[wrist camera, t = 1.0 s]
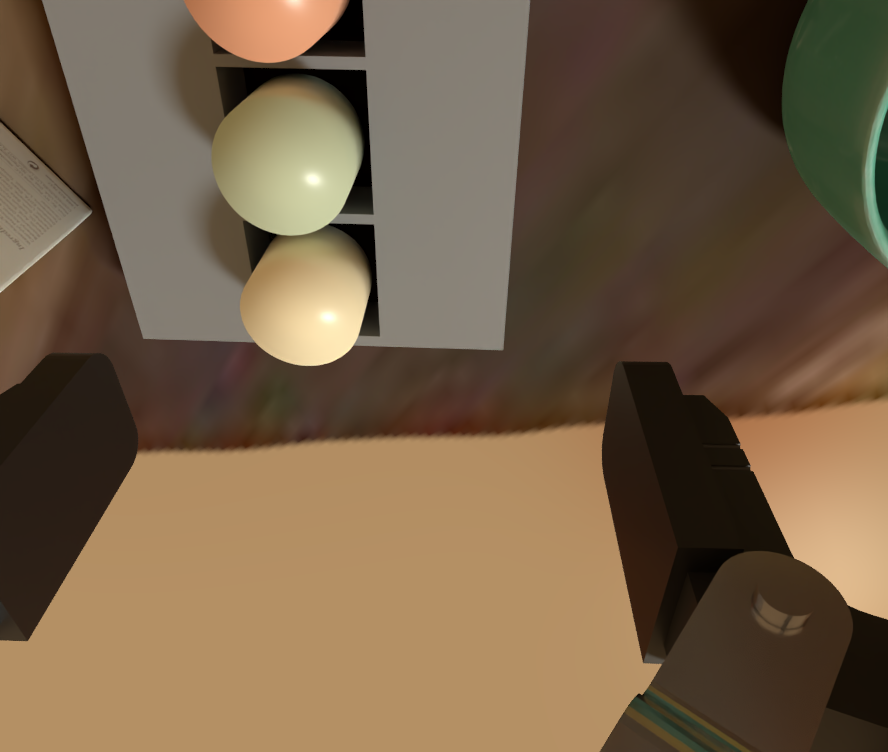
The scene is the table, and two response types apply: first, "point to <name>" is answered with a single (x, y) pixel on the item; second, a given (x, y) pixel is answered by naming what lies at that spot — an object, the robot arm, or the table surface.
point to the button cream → (308, 296)
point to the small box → (31, 208)
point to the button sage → (289, 154)
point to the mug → (842, 113)
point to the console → (384, 204)
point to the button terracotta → (266, 25)
